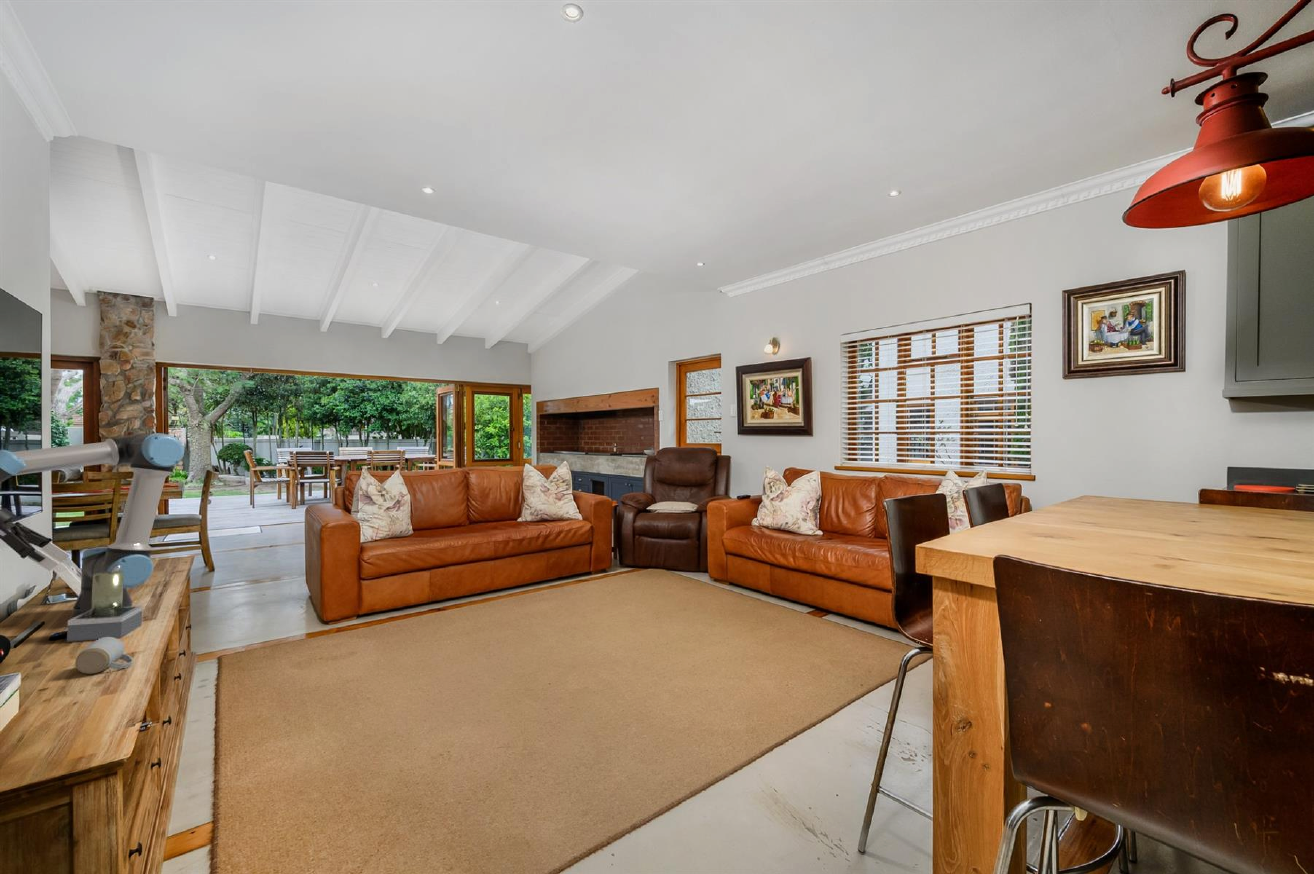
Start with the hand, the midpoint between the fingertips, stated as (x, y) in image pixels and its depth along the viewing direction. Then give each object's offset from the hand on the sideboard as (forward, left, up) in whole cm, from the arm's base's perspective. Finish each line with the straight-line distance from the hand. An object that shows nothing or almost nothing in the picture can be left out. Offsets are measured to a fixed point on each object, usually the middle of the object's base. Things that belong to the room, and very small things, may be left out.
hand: (60, 562), depth 171 cm
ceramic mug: (+32, +26, -24) cm, 47 cm away
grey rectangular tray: (-4, +11, -23) cm, 26 cm away
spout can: (-2, +11, -18) cm, 21 cm away
